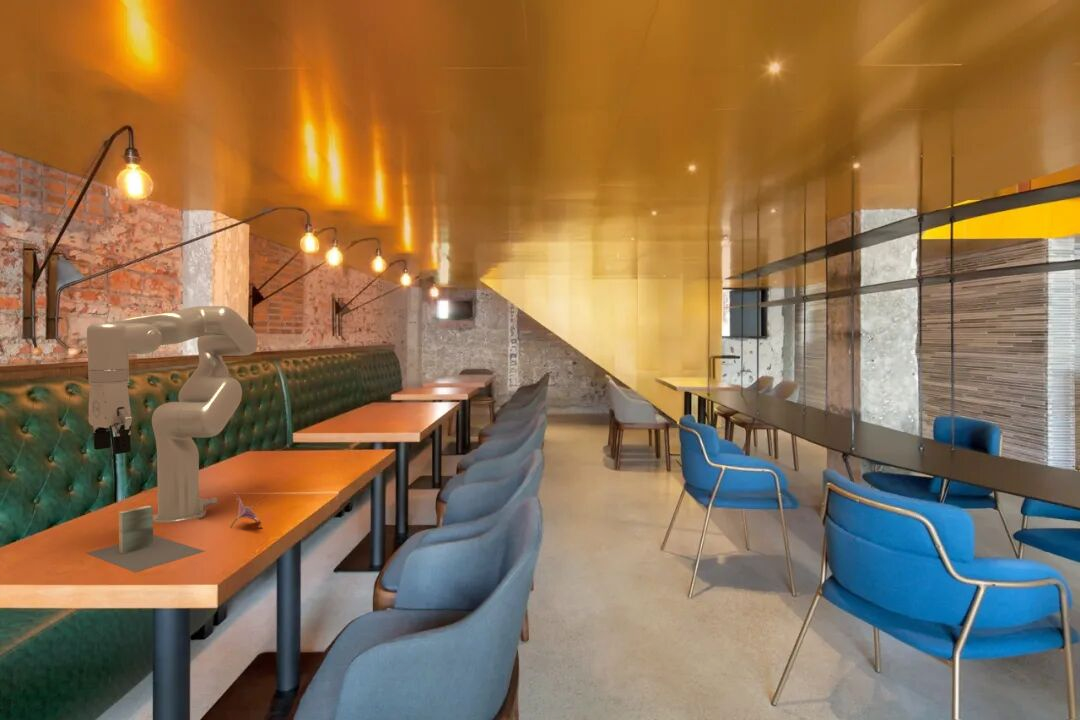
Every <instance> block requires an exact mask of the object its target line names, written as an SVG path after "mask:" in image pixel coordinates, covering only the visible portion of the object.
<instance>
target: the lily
mask: <svg viewBox="0 0 1080 720" xmlns="http://www.w3.org/2000/svg"><path fill="white" fill-rule="evenodd" d="M232 492H233V493H234V494H235V495H236V496H237V498H236V500H237V501H238V511H237V513H238V514H237V517H236V518H235V519H234V520H233V522H232V523H231V525H230V527H229V528H230V529H232V527H233V526H234V523H236V521H237V520H238V519H240V518H245V519H250V520H254V522H256V523H257V524H258V525H259V526H260V528H263V527H262V525H261V524H260V522H261V520H260V519H259V518H258V516H257V514H255V512H254V511H253V508H254V506H253V505H250V506H247V505H244V504H243V501H242V499H241V498H240V496H239V494H238V493H237V492H236V491H234V490H232Z"/></svg>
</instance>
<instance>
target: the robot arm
mask: <svg viewBox="0 0 1080 720" xmlns="http://www.w3.org/2000/svg"><path fill="white" fill-rule="evenodd" d="M196 338H197V343H196V345H197V350H198V360H199V361H198V362H199V364H198V366H197V368H196V369H195V371H193V373H192V374H191V376H190V377H189V378H188V379H187V380H186V381H185V383H184V384H183V385H182V387H181V389H180V390H179V392H178V397H177V398H178V401H173V402H172V401H170V402H166V403H163V404H160V405H159V406H157V407H156V408H155V409H154V411H153V413H152V417H151V426H152V430H153V434H154V438H155V445H156V461H157V462H156V469H157V473H156V474H157V477H156V478H157V481H156V482H157V513H155V514H153V523H161V524H162V523H163V524H164V523H165V524H166V523H177V522H183V521H184V522H185V521H189V520H192V519H197V520H199V519H202V518H204V517H205V516H206V515H207V513H206V512H207V511H206V507H207V506H213V505H216V504H218V498H217V497H216V496H214V497H210V498H207V497H205V498H204V497H203V498H202V497H200V476H199V475H200V473H199V472H200V469H199V467H200V465H199V464H200V462H199V461H200V457H199V456H200V455H199V450H198V447H197V445H196V443H195V441H194V439H193V438H213V437H215V436H217V435H219V434H220V433H221V432H222V431H223V430H224V428H225V427H226V426H227V424H228V422H229V421H230V420H231V418H232V416H233V415H234V413H235V412H236V411H237V410H238V407H239V406H240V403H241V401H242V397H243V396H242V395H243V388H242V385H241V383H240V382H239V381H238V380H237V379H236V378H233V377H232V376H230V371H229V368H228V366H227V364H226V363H225V362H224V360H223V357H225V356H227V357H229V356H233V357H234V356H235V357H236V356H243V357H245V356H249V355H252V354H253V353H254V352H256V351H257V349H258V344H259V340H258V336H257V334H256V332H255V330H254V329H253V328H252V327H251V325H250V324H248V322H247V321H246V320H245V319H244V318H243V317H242V315H240V314H239V313H238V312H237V311H235V310H234V309H233V308H231V307H229V306H225V305H223V306H222V305H218V306H217V305H210V306H209V305H202V306H201V305H198V306H192V307H186V308H183V309H179V310H173V311H169V312H163V313H155V314H151V315H150V314H149V315H144V316H138V317H137V316H136V317H130V318H124V319H123V318H122V319H118V320H113V321H109V322H104V323H92V324H89V325H88V327H87V328H86V347H87V368H88V369H87V371H88V372H87V373H88V375H87V377H88V385H89V390H88V391H89V393H88V424H89V425H90V426H92V432H93V449H94V450H103V449H105V450H106V449H110V448H111V447H112V446H113V448H112V449H113V454H115V455H121V454H125V453H130V452H131V450H132V449H131V448H132V447H131V446H132V445H131V434H132V431H131V430H132V421H133V418H132V416H131V405H130V394H129V389H128V384H129V383H130V366H129V365H130V361H129V355H146V354H147V355H148V354H151V353H153V352H156V351H157V350H158V349H159V348H160V347H161V346H166V345H175V344H180V343H184V342H186V341H189V340H194V339H196ZM110 426H111V429H112V432H113V435H114V436H112V435H111V430H109V429H110ZM111 436H112V438H111ZM111 439H112V440H111ZM112 441H113V442H112ZM112 443H113V445H112ZM204 508H205V509H204Z"/></svg>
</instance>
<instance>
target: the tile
mask: <svg viewBox="0 0 1080 720" xmlns="http://www.w3.org/2000/svg"><path fill="white" fill-rule="evenodd" d="M153 508H154V507H153V505H152V506H150V505H144V506H140V507H136V508H131V509H126V510H120V511H118V544H119V552H120V553H123V554H125V553H128V552H132V551H136V550H139V549H143V548H147V547H150V546H153V535H154V522H153V515H154V512H153V510H154V509H153Z"/></svg>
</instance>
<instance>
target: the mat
mask: <svg viewBox="0 0 1080 720" xmlns="http://www.w3.org/2000/svg"><path fill="white" fill-rule="evenodd" d="M204 552H206V550H203V549H199V548H196V547H193V546H191V545H186V544H184V543H180V542H177V541H174V540H171V539H168V538H166V537H165V538H164V537H161V536H158V535H155V534H153V546H150V547H147V548H143V549H139V550H136V551H132V552H128V553H125V554H123V553H120V552H119V543H118V544H114V545H110V546H106V547H103V548H100V549H95V550H91V551H88V552H86V554H87V555H89V556H92V557H94V558H97V559H100V560H103V561H104V562H107V563H109V564H112V565H116V566H118V567H120V568H123V569H126V570H128V571H131V572H133V573H138V572H141V571H144V570H147V569H151V568H154V567H158V566H162V565H164V564H168V563H171V562H175V561H177V560H181V559H184V558H189V557H191V556H194V555H198V554H201V553H204Z"/></svg>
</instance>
